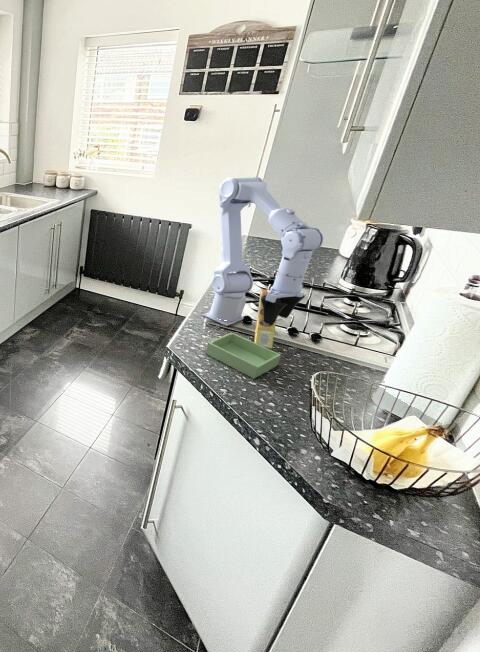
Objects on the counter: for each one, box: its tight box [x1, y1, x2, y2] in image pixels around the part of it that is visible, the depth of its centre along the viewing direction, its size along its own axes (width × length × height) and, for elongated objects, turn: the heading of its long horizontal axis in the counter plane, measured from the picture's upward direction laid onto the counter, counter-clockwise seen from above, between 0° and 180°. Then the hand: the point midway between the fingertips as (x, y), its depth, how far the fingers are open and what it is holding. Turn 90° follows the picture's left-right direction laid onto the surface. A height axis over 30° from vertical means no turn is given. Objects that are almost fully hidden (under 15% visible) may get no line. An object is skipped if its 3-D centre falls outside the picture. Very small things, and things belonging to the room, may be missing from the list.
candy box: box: [253, 289, 277, 350], centre depth 118 cm, size 9×4×15 cm, turn 146°
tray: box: [204, 331, 282, 379], centre depth 114 cm, size 11×13×4 cm
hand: (275, 319), depth 115 cm, fingers open, 7 cm apart
